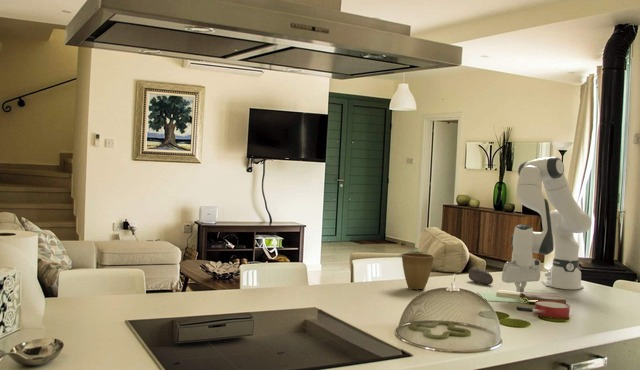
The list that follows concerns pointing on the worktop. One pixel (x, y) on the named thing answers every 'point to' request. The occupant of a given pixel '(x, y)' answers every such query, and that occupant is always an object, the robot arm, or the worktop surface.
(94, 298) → the worktop surface
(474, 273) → the grey stone
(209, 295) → the worktop surface
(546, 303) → the red saucepan
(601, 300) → the worktop surface
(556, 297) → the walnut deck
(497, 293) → the birch tile
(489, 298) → the green mat
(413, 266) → the plant pot
